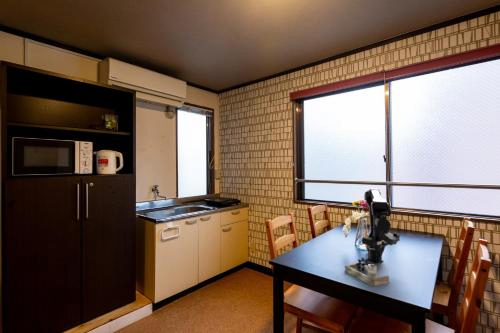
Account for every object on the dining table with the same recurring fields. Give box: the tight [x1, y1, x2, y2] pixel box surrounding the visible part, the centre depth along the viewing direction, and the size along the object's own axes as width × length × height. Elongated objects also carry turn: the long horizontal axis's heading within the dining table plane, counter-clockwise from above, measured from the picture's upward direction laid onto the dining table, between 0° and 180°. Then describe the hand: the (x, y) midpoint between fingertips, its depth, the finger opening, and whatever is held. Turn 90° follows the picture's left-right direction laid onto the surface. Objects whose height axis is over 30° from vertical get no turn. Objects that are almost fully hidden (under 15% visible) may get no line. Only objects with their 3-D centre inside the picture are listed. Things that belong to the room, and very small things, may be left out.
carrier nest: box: [344, 262, 390, 288], centre depth 119 cm, size 17×10×3 cm, turn 22°
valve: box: [355, 257, 378, 278], centre depth 120 cm, size 7×7×12 cm
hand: (379, 256), depth 122 cm, fingers closed
